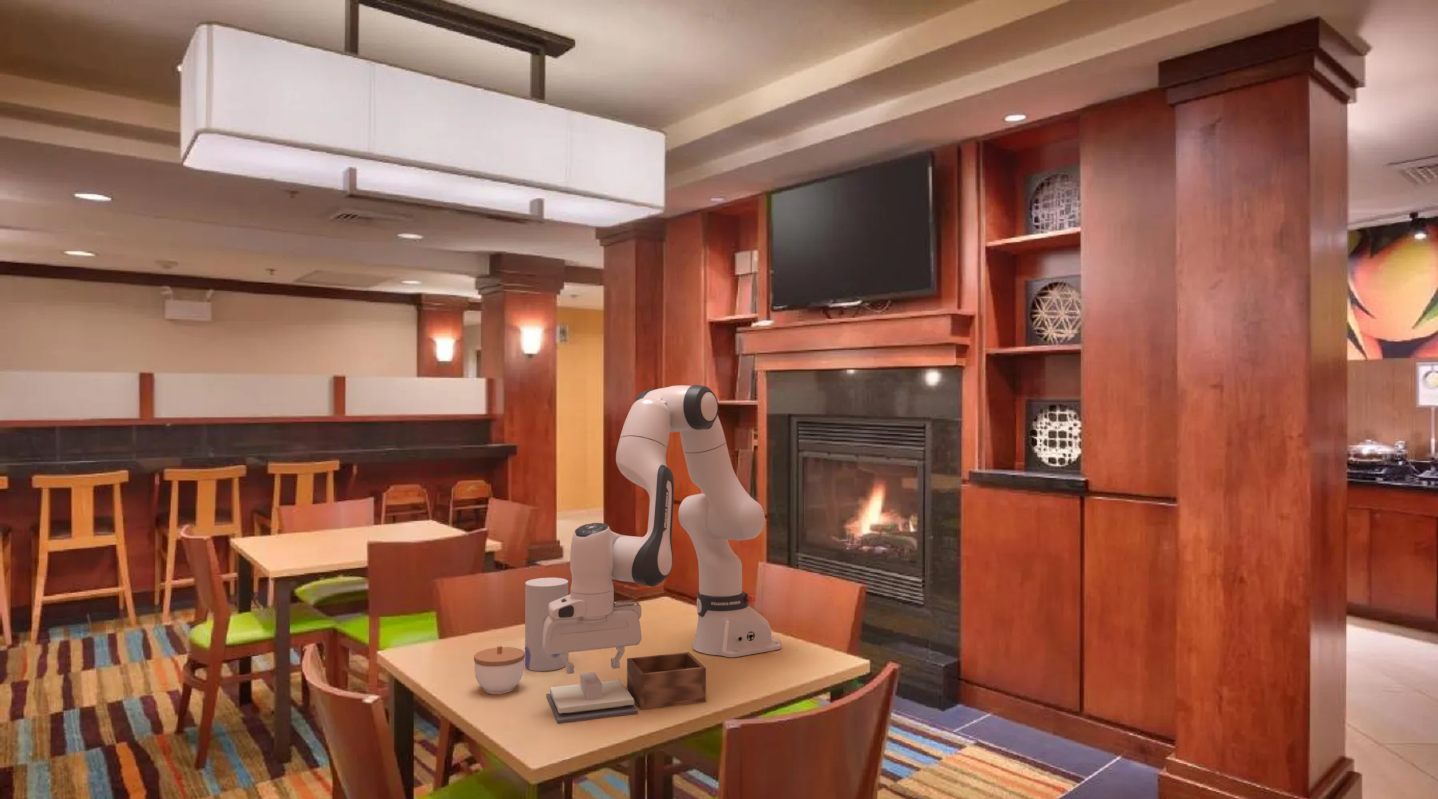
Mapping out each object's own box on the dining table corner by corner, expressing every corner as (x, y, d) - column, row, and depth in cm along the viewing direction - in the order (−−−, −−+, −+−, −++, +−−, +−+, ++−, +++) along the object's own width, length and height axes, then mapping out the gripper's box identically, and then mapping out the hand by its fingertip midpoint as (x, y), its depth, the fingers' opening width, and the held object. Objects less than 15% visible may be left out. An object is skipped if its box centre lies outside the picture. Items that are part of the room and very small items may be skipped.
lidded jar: (479, 682, 185) (479, 640, 185) (528, 680, 186) (528, 639, 186) (468, 698, 174) (469, 654, 175) (520, 697, 175) (520, 653, 176)
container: (558, 673, 192) (558, 586, 192) (517, 670, 194) (518, 584, 194) (574, 660, 201) (574, 577, 202) (535, 657, 203) (536, 576, 204)
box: (688, 683, 184) (688, 652, 184) (705, 701, 173) (705, 667, 173) (627, 690, 179) (627, 658, 180) (640, 709, 168) (640, 674, 168)
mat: (620, 688, 181) (620, 685, 181) (638, 713, 166) (638, 710, 166) (546, 696, 176) (546, 693, 176) (557, 723, 161) (557, 720, 161)
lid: (619, 688, 179) (619, 665, 180) (634, 708, 167) (634, 684, 167) (549, 695, 174) (549, 673, 175) (559, 717, 162) (559, 692, 162)
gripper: (637, 595, 178) (638, 660, 178) (540, 604, 171) (541, 671, 171) (644, 602, 172) (645, 669, 172) (545, 611, 165) (545, 681, 165)
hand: (592, 670), depth 171 cm, fingers open, 8 cm apart
